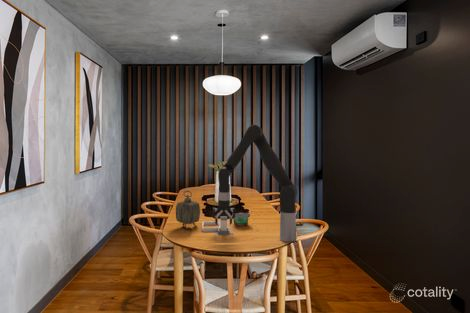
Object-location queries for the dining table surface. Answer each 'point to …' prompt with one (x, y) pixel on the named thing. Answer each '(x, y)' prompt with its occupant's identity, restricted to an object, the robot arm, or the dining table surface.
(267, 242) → the dining table surface
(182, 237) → the dining table surface
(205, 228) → the parts tray
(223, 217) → the fuse
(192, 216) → the tabletop clock
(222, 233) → the fuse block
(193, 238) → the dining table surface
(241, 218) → the food container
